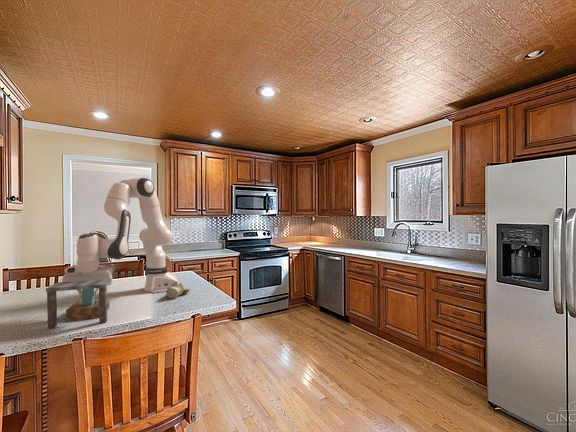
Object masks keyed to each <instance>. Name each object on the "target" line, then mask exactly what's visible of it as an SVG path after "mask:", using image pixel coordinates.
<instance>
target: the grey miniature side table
mask: <svg viewBox="0 0 576 432" xmlns="http://www.w3.org/2000/svg"><path fill="white" fill-rule="evenodd" d="M112 279H113V278H112ZM112 279H104V280H89V281H74V282H62V281H61V282H55V283H53V284H51V285H50V286H48V287H46V288H45V292H46V301H47V302H46V307H47V308H46V309H47V310H46V311H47V312H46V314H47V329H48V328H54V329H56V328H57V327H58V305H57V303H58V301H57V292H64V291H77V290H79V289H81V290H82V289H93V288H94V289H95V288H96V289H97V288H99V289H98V298H95V304H94V305H88V306H82V299H81V300H77V301H75V302H74V303H73V304H72V305H70V306H69V307H68V308H67V309H65V321H66V322H69V321H80V320H89V319H98V322H99V324H106V323H107V321H108V310H109V309H110V306H111V305H110V298H109V297H108V294H107V293H108V292H107V290H108V289H107V288H108V286H110V285H109V284H110V283H111V282H112ZM112 283H113V282H112ZM56 326H57V327H56ZM55 327H56V328H55Z"/></svg>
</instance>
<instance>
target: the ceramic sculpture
mask: <svg viewBox="0 0 576 432" xmlns="http://www.w3.org/2000/svg"><path fill="white" fill-rule="evenodd" d="M190 290H191V288H189V289H188V288H184V285H183V283H181V284H180V282H179V283H177V282H175V283H173V284H172V286H171V287H169V288H168V289H167V291H166V292H165V294H166V297H167V298H168V299H171V300H174V299H177V297H179V296H181V295H183V294H184V295H185V294H188V293H189V292H190Z"/></svg>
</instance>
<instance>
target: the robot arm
mask: <svg viewBox="0 0 576 432" xmlns="http://www.w3.org/2000/svg"><path fill="white" fill-rule="evenodd" d="M105 198H106V199H105V201H104V205H103V209H104V210H103V211H104V212H105V214H107V216H109V217H111V218H113V219H115V220H116V221H117V228H116V235H115V237H114V238H103V237H101V236H99V235H98V234H97V233H92V232H90V233H89V232H88V233H83V234H81V235H79V236H78V238H77V242H76V255H77V260H76V264H73V265H71V266H68V267H66V268H64V273H65V274H63V276H62V281H61V282H74V281H89V280H104V279H112V282H111V283H110V284H109V285H108V286H111V285H112V284H113V282H114V281H113V268H112V267H111V266H109V265H107V266H100V259H99V258H103V259H111V260H112V259H113V260H114V259H115V260H121V259H123V258H124V257H126V256H127V254H128V252H129V248H130V247H129V237H130V229H131V218H132V217H131V213H130V212H129V205H130V202H131V199H133V198H134V199H135V198H137V199H138V203H139V204H138V205H139V209H140V213H141V219H142V221H143V223H145V225H146V226H147V227H145V228H143V229H141V230H140V232H139V235H138V238H139V240H140V241H141V243H142V245H143V248H144V252H145V258H146V263H145V265H146V267H145V278H146V279H145V285H144V289H143V292H147V293H152V294H157V293H163V292H164V293H166V291H167V289H168V288H169V287H171V286H172V284H173V283H175V282H177V283H180V282H179V279H178V277H177V276H176V275H175V274H173V273H172V272H171V271H170V267H169V266H167V265H166V263H167V262H166V256H167V255H166V253H165V251H164V249H163V248H162V246H168V245H169V244H170V243H172V241H173V238H174V235H173V232H172V231H171V230H170V229H169V228H168V226H167V225H166V223H165V220H164V218H163V215H162V210H161V207H160V206H161V205H160V202H159V201H160V200H159V198H158V195H157V192H156V190H155V186H154V183H153V181H152V180H151V179H149V178H148V177H133V178H130V179H124V180H121V181H119V182H115V183H113V184H112V186H111V187H110V189H109V191H108V193H107V195H106V197H105ZM180 284H182V283H180ZM76 291H77V292H78V294H79V297H80V298H82V289H79V290H76ZM98 292H99V288H94V292H93V296H97V295H98Z"/></svg>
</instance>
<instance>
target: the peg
mask: <svg viewBox="0 0 576 432" xmlns="http://www.w3.org/2000/svg"><path fill="white" fill-rule="evenodd" d="M81 291H82V297H81V300H82V306H88V305H94V304H95V299H96V298H95V296H96V295H95V296H93V292H94V291H95V288H93V289H81Z"/></svg>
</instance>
